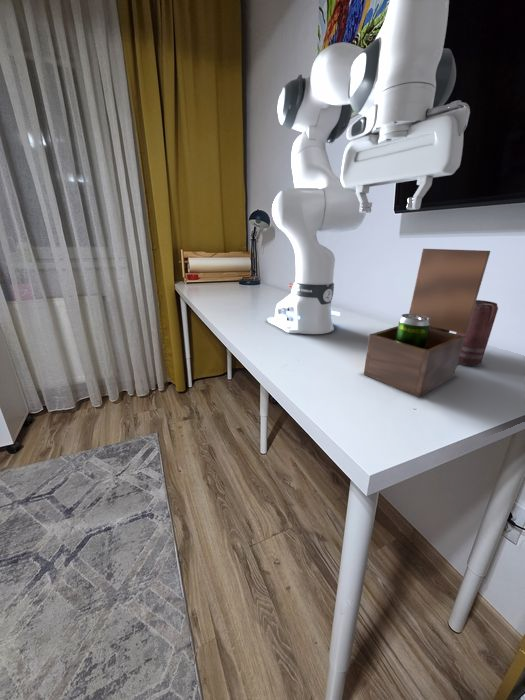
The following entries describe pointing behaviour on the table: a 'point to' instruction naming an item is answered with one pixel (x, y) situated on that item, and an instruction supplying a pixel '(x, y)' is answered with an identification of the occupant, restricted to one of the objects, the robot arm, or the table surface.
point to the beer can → (413, 330)
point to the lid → (448, 287)
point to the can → (478, 333)
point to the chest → (413, 360)
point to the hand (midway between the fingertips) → (387, 211)
